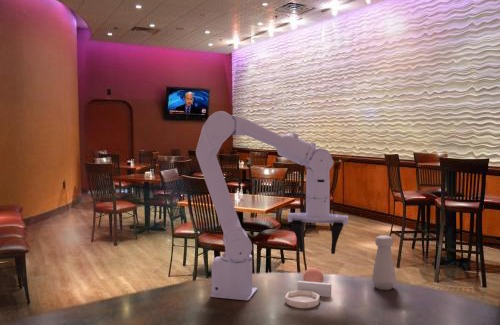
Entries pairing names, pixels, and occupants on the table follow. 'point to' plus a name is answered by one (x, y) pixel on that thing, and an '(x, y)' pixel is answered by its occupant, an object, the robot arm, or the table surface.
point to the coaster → (302, 299)
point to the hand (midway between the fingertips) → (317, 251)
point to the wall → (315, 287)
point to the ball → (313, 275)
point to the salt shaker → (384, 264)
